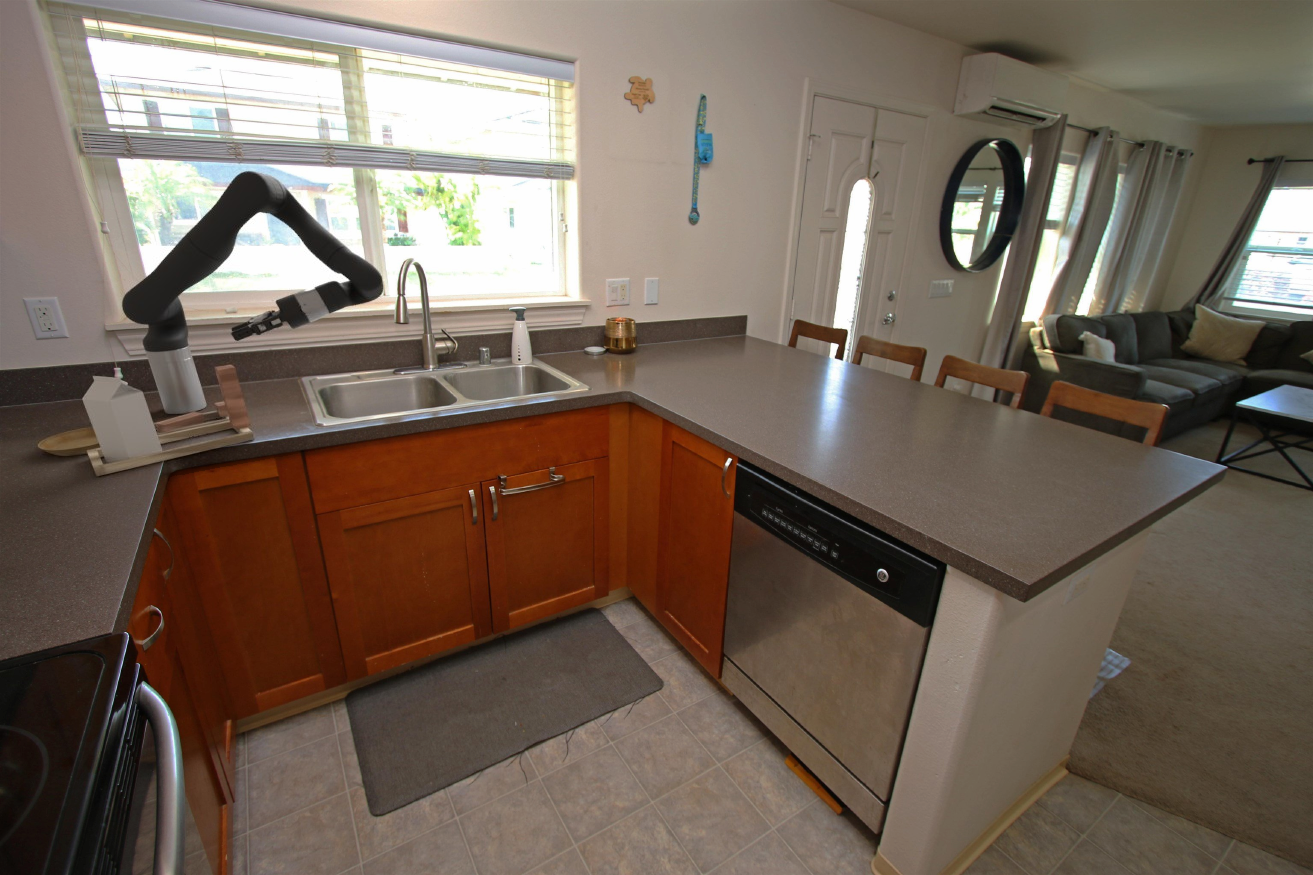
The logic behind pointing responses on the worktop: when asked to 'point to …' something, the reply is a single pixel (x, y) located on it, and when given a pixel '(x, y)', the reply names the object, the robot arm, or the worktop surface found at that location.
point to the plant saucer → (71, 442)
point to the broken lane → (192, 420)
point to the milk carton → (120, 419)
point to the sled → (193, 430)
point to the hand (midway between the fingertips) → (233, 334)
